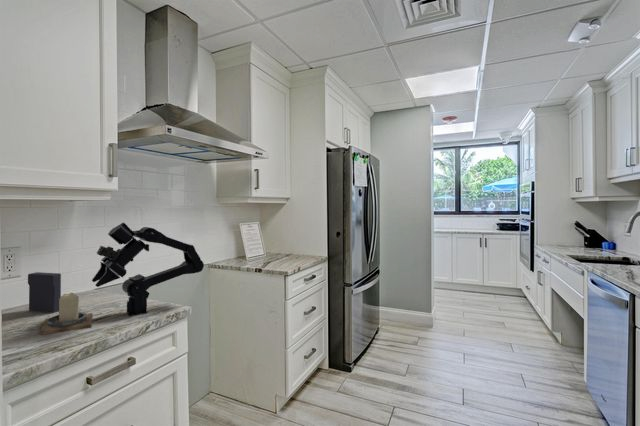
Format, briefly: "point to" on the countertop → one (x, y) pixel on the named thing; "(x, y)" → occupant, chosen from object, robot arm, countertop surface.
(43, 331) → the dock
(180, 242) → the robot arm
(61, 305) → the candle
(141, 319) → the countertop surface
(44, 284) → the navy upright box
